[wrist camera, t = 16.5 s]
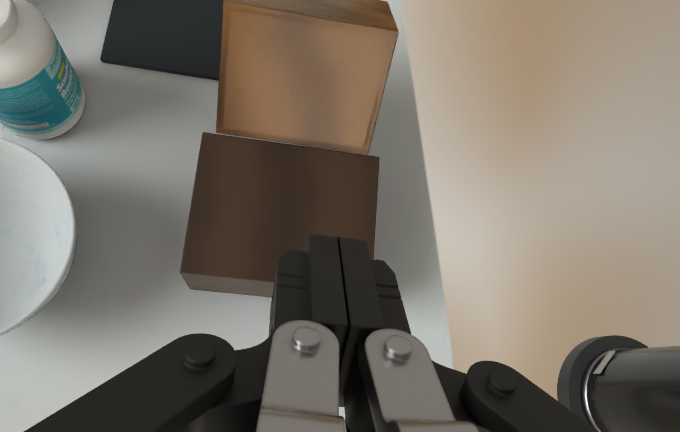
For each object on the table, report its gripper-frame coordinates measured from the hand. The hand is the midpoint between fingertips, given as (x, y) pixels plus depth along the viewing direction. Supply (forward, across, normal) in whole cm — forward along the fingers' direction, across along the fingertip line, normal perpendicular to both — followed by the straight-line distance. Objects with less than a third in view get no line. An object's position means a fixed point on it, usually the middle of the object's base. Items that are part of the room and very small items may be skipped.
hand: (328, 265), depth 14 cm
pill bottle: (+37, +22, +11) cm, 45 cm away
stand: (+30, 0, +17) cm, 35 cm away
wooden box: (+28, 0, +3) cm, 28 cm away
